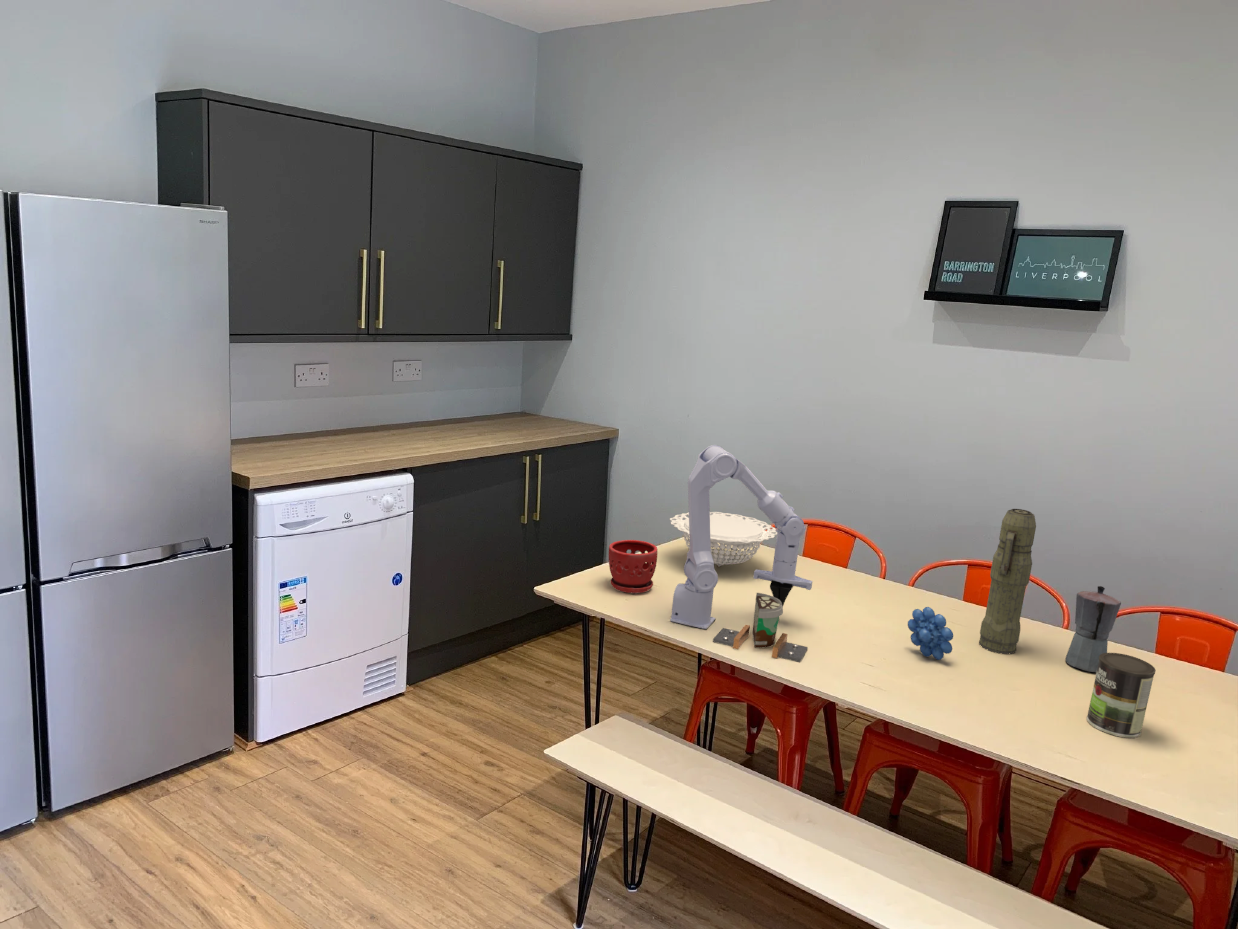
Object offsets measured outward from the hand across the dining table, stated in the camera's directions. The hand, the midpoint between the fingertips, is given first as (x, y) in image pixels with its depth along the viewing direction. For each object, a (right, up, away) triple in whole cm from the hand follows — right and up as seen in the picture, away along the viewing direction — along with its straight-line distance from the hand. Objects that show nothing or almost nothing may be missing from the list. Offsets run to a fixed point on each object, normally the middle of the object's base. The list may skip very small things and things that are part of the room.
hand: (778, 610), depth 233 cm
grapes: (+32, -9, -14) cm, 36 cm away
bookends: (-7, -6, -16) cm, 18 cm away
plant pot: (-37, +3, +17) cm, 41 cm away
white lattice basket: (-11, +6, +42) cm, 44 cm away
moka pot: (+72, -12, -12) cm, 74 cm away
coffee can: (+62, -17, -42) cm, 77 cm away
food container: (-5, -6, -12) cm, 15 cm away
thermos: (+54, -9, -4) cm, 55 cm away
